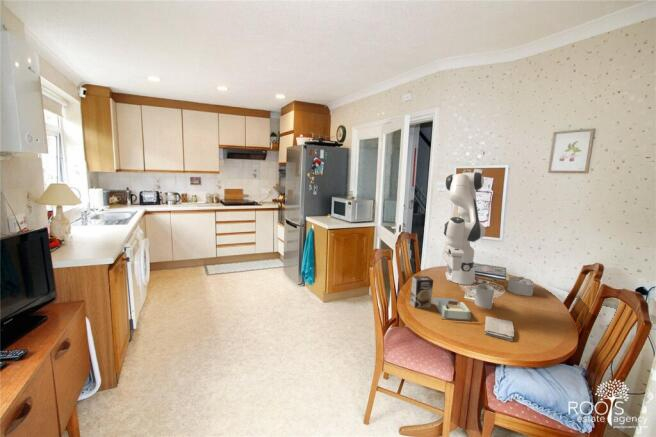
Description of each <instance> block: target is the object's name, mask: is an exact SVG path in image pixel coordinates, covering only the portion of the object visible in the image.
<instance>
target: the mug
mask: <svg viewBox="0 0 656 437" xmlns="http://www.w3.org/2000/svg"><path fill="white" fill-rule="evenodd" d="M494 293H495V288H494V287H493V286H491V285H490V284H489V285H488V284H484V283H479V284H477V285H476V292H475V297H474V304H475V305H476V306H478V307H480V308H485V309H486V310H491V309H492V308H493V300H494Z"/></svg>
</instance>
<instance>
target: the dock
mask: <svg viewBox="0 0 656 437" xmlns="http://www.w3.org/2000/svg"><path fill="white" fill-rule="evenodd" d="M448 301H458V299H456V298H448V297H447V298H444V297H434V296H432V298H431V302H433V304H434V306H435V307H436V309H437V312H438V313H439V314H440V316H441V317H442V318H441V320H444V321H455V322H458V321H459V322H468V323H470V322H471V323H472V318H471V315H472V314H471V313H472V311H471V310H470V309H469V308H468V307H467V305H466V304H465V302H462V301H460V302H459V301H458V304H459V305H460V307H461V308H462V310H453V309H447V308H446V304H447V303H448Z"/></svg>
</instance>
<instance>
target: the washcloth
mask: <svg viewBox="0 0 656 437" xmlns="http://www.w3.org/2000/svg"><path fill="white" fill-rule="evenodd" d="M514 328H515V327H514V324H513V321H511V320H507V319H501V318H497V317H492V316H485V322H484V335H486V336H489V337H492V338H496V339H500V340H504V341H508V342H513V341H514V336H515V330H514Z"/></svg>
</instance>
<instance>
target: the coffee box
mask: <svg viewBox="0 0 656 437" xmlns="http://www.w3.org/2000/svg"><path fill="white" fill-rule="evenodd" d="M433 287H434V279H433V278H431V277H429V276H428V275H427V276H423V275H422V276H421V275H419V276H417V275H416V276H412V281H411V290H410V300H409V301H410V302H409V305H410V306H412V307H413V308H415V309H421V308H422V309H423V308H431V306H432V299H431V298H432V297H433Z"/></svg>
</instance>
